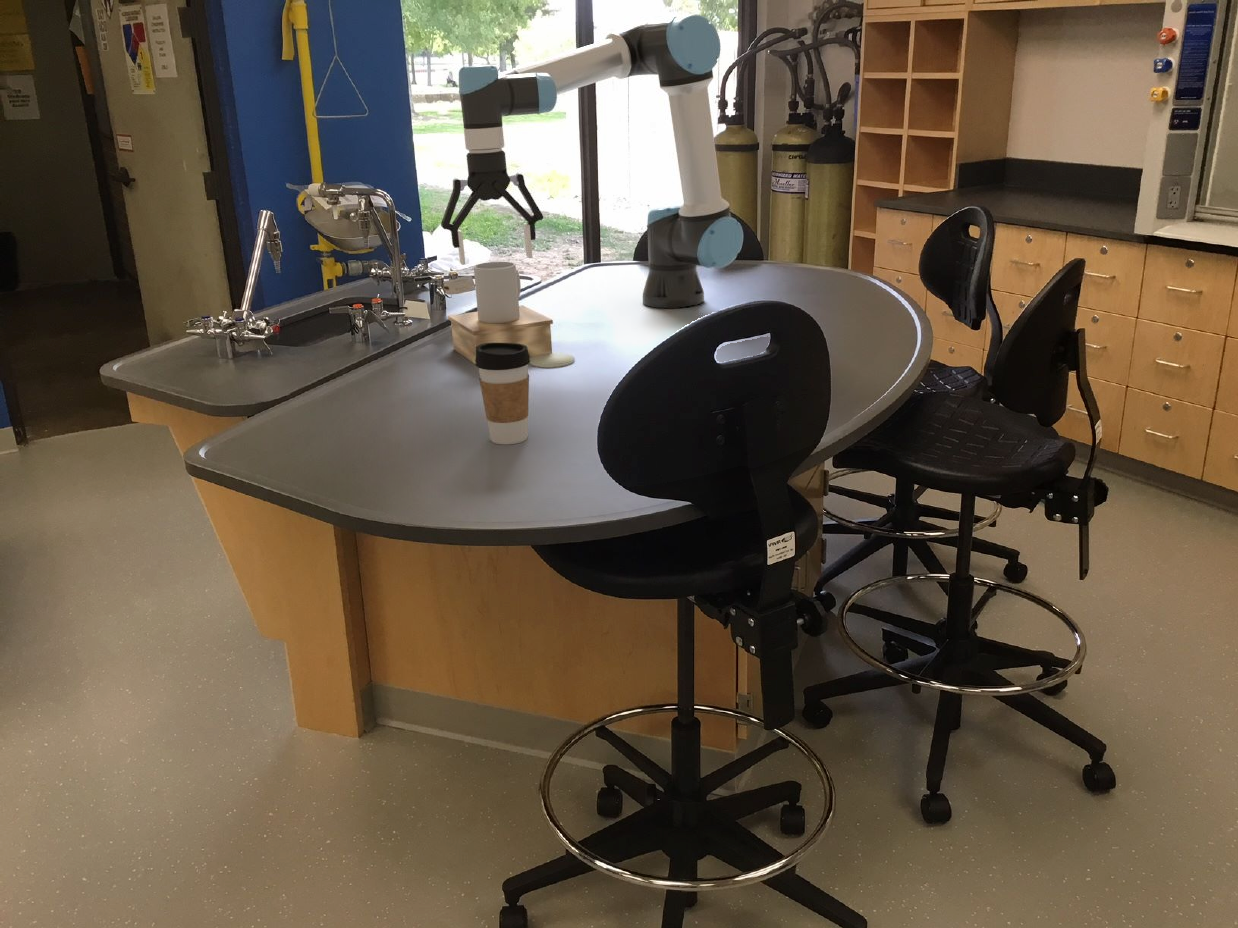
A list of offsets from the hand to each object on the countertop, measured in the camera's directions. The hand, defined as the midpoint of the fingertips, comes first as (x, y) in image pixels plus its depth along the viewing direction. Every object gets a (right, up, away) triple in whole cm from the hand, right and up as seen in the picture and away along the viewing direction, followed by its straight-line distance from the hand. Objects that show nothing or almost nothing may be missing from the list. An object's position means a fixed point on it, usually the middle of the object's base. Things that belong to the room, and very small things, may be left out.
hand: (496, 260), depth 204 cm
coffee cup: (+7, -37, -44) cm, 58 cm away
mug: (+1, -11, +4) cm, 12 cm away
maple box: (0, -18, +7) cm, 19 cm away
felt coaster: (+11, -21, -2) cm, 24 cm away
